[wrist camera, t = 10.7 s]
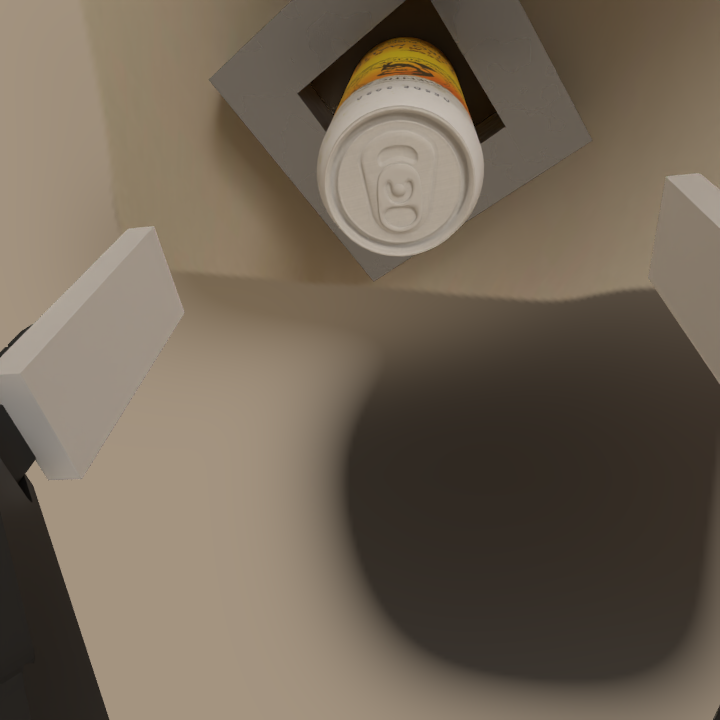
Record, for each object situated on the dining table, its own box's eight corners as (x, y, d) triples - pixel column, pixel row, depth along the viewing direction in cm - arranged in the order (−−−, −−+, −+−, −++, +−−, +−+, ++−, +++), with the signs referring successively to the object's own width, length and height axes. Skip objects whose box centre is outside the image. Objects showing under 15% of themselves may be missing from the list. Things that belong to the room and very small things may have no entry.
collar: (226, 67, 32) (208, 79, 30) (440, -135, 27) (443, -144, 24) (376, 256, 38) (373, 281, 35) (576, 123, 33) (592, 140, 30)
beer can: (458, 29, 30) (490, 85, 18) (458, 148, 34) (484, 261, 22) (343, 40, 31) (300, 102, 19) (354, 156, 35) (324, 270, 22)
